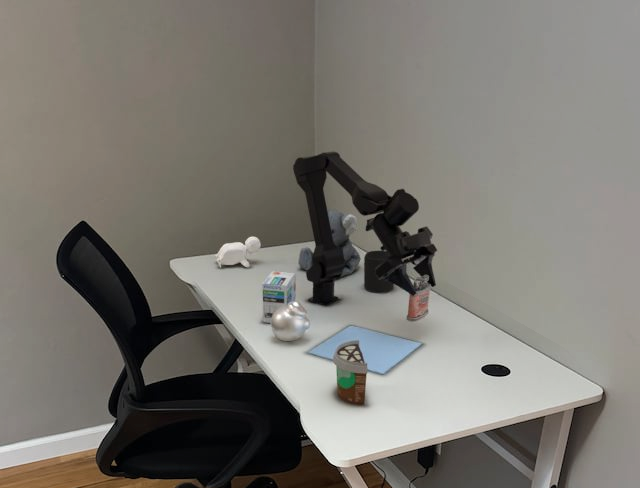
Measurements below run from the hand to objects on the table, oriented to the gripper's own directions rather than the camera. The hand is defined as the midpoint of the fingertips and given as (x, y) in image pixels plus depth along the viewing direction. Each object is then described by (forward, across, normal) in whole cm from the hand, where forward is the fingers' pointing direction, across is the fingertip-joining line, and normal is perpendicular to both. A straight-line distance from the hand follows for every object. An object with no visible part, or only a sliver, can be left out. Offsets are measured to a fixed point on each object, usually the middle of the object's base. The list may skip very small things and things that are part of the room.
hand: (424, 290), depth 168 cm
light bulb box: (-16, -14, +34) cm, 40 cm away
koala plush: (-26, +26, +46) cm, 59 cm away
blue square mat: (+5, -14, +13) cm, 20 cm away
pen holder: (-12, +23, +31) cm, 40 cm away
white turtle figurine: (-44, +9, +64) cm, 78 cm away
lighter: (+4, 0, +6) cm, 7 cm away
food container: (+13, -35, +5) cm, 38 cm away
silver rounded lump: (-7, -23, +26) cm, 35 cm away
